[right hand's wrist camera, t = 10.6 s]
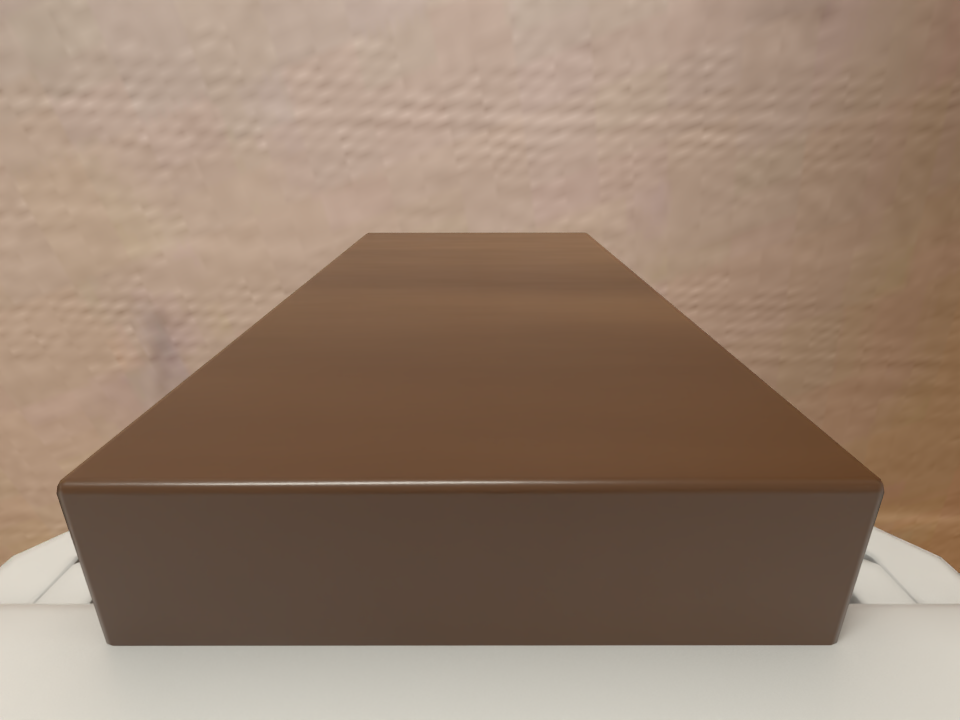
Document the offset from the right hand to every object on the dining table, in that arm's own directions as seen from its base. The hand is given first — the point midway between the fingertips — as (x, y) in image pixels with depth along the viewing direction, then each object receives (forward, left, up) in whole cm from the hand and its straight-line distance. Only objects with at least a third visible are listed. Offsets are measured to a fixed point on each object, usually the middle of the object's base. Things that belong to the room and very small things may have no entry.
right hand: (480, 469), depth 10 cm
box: (+3, +6, -6) cm, 9 cm away
